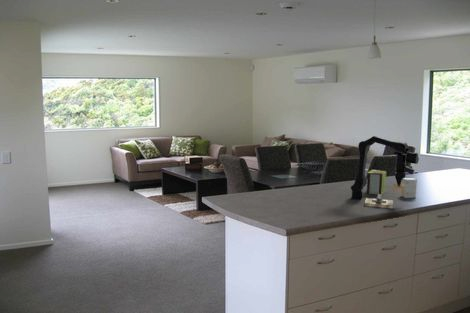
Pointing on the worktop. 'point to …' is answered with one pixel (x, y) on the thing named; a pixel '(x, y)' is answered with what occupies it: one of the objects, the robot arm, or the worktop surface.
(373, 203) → the hook shelf
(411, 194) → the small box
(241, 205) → the worktop surface
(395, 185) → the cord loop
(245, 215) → the worktop surface
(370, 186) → the protein box
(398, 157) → the robot arm
